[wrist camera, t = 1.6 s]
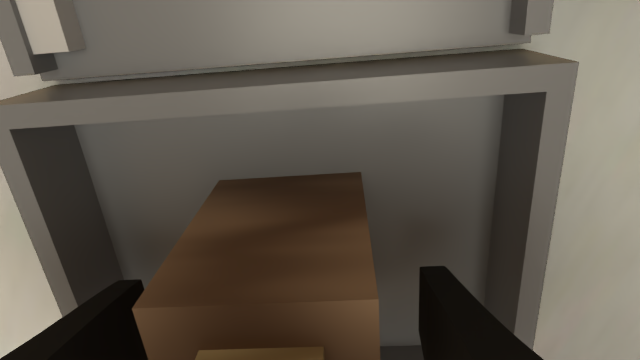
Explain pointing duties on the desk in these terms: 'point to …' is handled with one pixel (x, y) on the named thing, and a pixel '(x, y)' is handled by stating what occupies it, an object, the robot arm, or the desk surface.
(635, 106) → the desk surface
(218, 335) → the module block
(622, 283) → the desk surface
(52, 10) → the case lid open
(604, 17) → the desk surface
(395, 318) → the case
